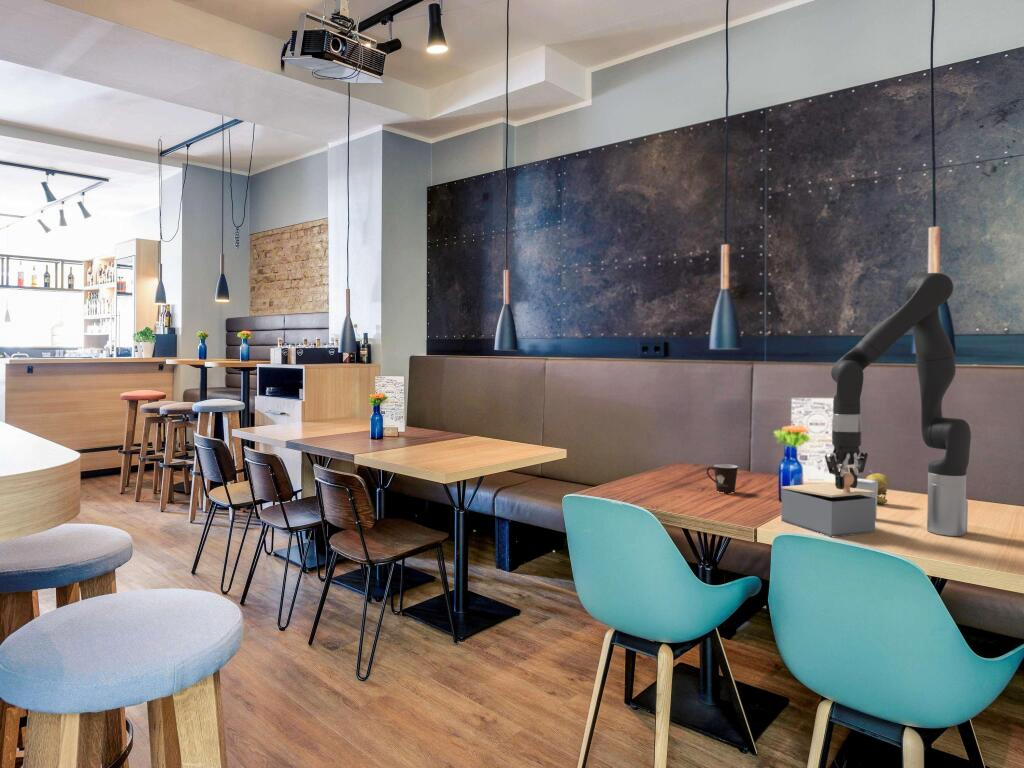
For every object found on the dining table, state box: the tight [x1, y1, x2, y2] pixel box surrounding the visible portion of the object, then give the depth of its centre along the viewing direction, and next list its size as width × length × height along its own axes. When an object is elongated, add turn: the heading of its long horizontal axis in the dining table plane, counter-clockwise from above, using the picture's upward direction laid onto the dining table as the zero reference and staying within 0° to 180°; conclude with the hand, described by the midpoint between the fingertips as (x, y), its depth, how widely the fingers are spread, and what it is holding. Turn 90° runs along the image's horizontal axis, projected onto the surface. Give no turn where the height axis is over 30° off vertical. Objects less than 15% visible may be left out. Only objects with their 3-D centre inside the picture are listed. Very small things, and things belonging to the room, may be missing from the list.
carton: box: [780, 488, 876, 538], centre depth 198 cm, size 16×20×10 cm
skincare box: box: [856, 478, 878, 520], centre depth 208 cm, size 6×4×12 cm
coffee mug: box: [706, 463, 739, 493], centre depth 250 cm, size 12×9×10 cm
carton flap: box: [781, 471, 875, 497], centre depth 198 cm, size 16×20×6 cm
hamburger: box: [864, 470, 890, 505], centre depth 228 cm, size 8×7×12 cm
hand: (846, 488), depth 191 cm, fingers closed on carton flap, 4 cm apart
